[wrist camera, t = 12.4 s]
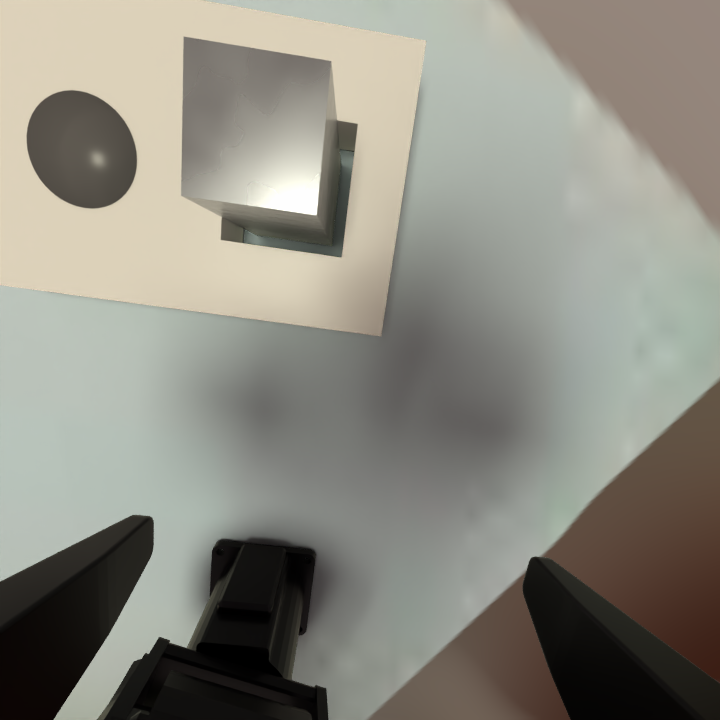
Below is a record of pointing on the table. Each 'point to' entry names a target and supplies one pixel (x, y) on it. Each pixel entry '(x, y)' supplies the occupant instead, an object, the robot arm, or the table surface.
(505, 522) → the table surface
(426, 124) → the table surface
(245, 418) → the table surface
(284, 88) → the square peg
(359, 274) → the socket plate
